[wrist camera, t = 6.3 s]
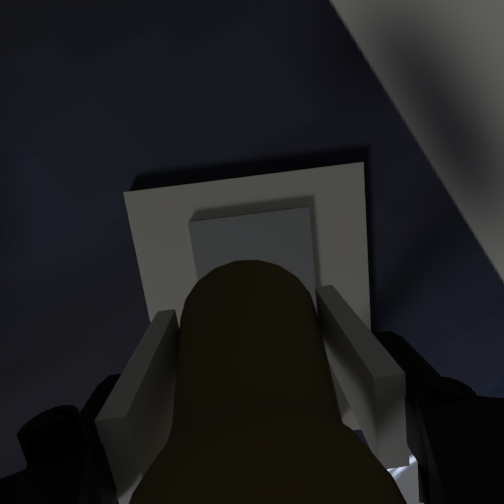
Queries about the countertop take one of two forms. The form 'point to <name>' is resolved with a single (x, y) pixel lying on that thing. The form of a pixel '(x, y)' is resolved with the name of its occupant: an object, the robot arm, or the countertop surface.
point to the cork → (258, 403)
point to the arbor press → (256, 236)
